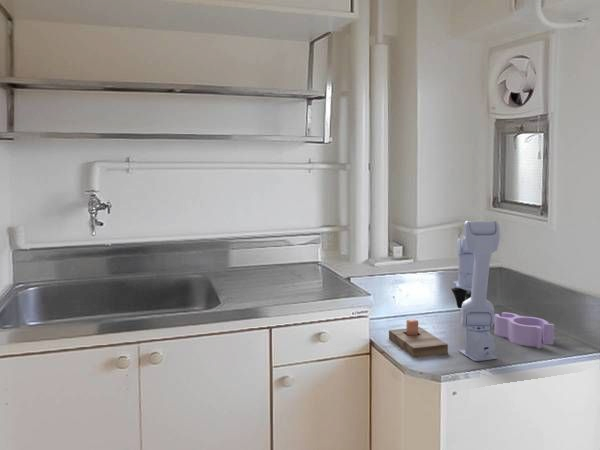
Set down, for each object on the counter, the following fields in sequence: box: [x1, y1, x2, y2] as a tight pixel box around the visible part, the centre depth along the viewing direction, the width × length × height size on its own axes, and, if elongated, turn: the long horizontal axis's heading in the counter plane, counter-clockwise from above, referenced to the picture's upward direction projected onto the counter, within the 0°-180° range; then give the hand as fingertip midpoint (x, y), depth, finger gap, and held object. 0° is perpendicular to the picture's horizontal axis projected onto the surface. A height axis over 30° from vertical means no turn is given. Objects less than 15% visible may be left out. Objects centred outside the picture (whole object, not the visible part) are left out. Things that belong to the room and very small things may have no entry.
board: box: [388, 326, 449, 358], centre depth 186 cm, size 20×12×3 cm, turn 14°
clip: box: [493, 311, 555, 349], centre depth 190 cm, size 20×12×7 cm, turn 30°
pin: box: [405, 318, 419, 336], centre depth 189 cm, size 4×4×7 cm
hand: (466, 310), depth 194 cm, fingers open, 7 cm apart
